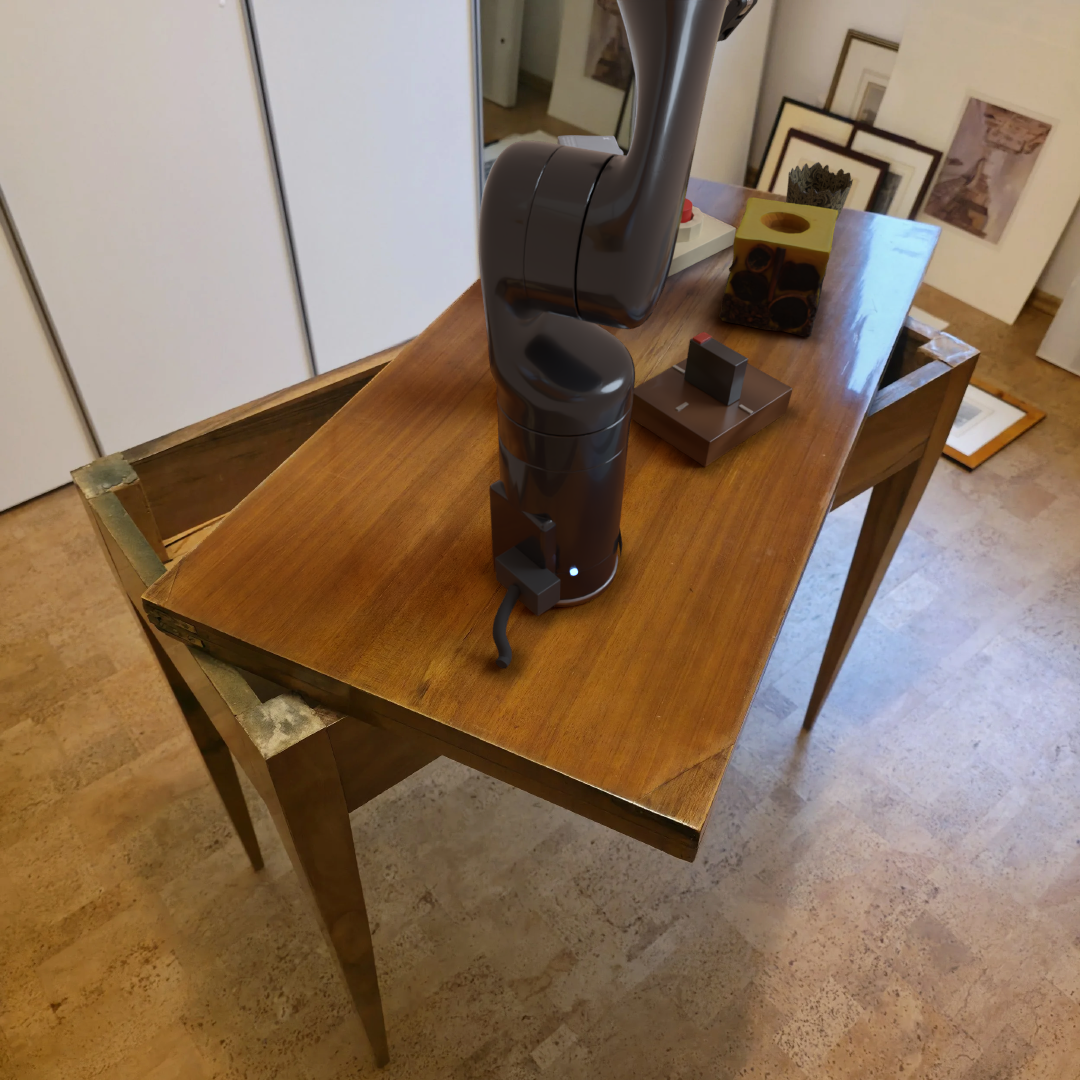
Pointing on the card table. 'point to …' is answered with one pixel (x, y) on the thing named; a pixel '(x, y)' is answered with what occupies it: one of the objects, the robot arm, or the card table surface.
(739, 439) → the dial panel
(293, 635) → the card table surface
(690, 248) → the kettle base
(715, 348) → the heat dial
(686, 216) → the button
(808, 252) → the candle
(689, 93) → the robot arm
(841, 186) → the cup
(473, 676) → the card table surface
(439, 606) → the card table surface
